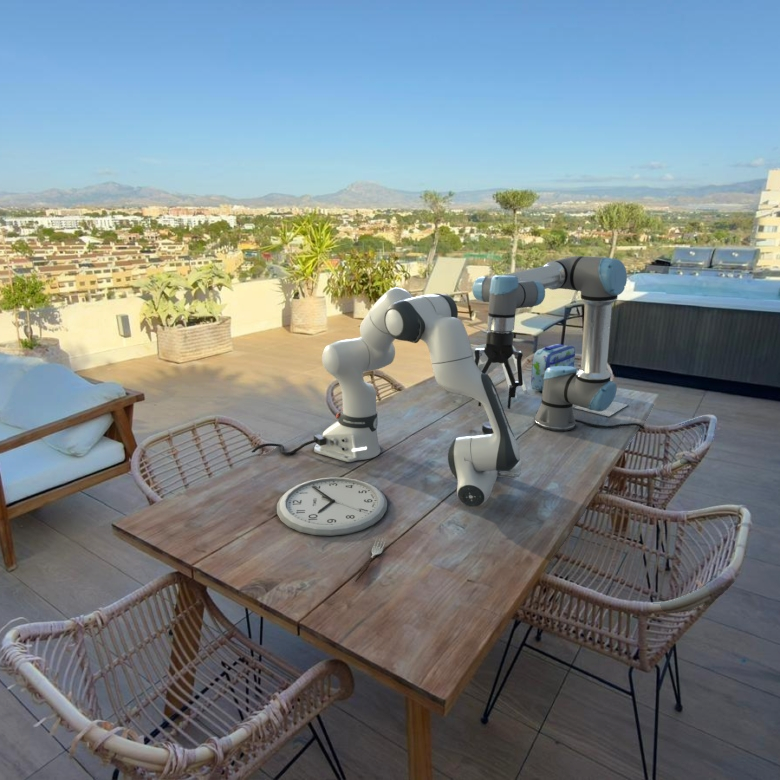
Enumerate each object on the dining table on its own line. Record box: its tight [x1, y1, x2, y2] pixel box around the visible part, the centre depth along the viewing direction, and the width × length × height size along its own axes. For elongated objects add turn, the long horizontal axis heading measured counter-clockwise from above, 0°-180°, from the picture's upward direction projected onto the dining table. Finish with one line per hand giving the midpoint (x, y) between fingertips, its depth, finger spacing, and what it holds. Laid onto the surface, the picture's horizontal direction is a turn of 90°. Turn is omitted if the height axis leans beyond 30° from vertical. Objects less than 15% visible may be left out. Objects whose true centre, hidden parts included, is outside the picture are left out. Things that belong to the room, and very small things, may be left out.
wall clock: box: [276, 476, 388, 537], centre depth 142 cm, size 30×2×30 cm
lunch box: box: [530, 343, 576, 392], centre depth 248 cm, size 26×11×21 cm, turn 134°
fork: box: [354, 536, 387, 583], centre depth 118 cm, size 3×16×2 cm, turn 160°
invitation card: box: [573, 400, 629, 418], centre depth 226 cm, size 21×1×15 cm
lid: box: [481, 421, 494, 434], centre depth 158 cm, size 6×6×2 cm
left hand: (490, 452), depth 162 cm, fingers open, 8 cm apart
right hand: (494, 406), depth 156 cm, fingers open, 8 cm apart
